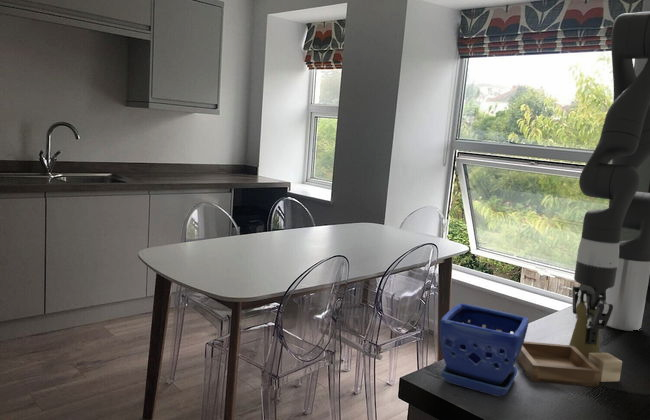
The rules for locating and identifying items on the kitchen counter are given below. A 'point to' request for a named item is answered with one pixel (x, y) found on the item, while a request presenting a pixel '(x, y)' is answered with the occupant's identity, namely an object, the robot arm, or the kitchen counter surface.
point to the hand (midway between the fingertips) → (585, 341)
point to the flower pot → (481, 347)
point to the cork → (583, 332)
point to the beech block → (606, 366)
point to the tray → (557, 364)
